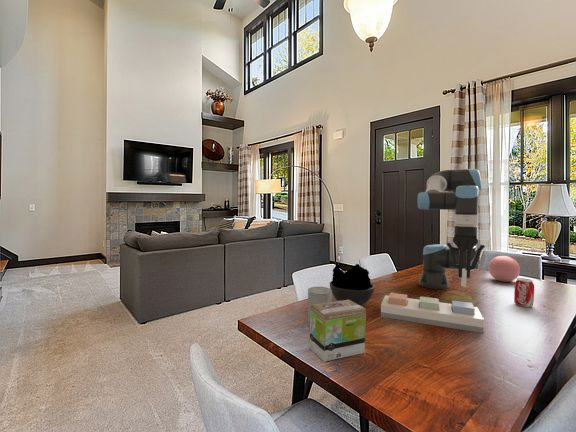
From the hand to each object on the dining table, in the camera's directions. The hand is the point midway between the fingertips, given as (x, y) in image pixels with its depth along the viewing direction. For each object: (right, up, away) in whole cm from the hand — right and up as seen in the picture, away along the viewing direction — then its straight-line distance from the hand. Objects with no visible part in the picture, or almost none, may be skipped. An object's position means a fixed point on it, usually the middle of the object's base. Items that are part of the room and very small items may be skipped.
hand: (463, 285), depth 117 cm
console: (-11, -15, +6) cm, 19 cm away
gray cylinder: (-56, -15, +4) cm, 58 cm away
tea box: (-53, -16, -21) cm, 59 cm away
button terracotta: (-22, -10, +11) cm, 26 cm away
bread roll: (+8, -14, +17) cm, 24 cm away
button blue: (0, -11, +1) cm, 11 cm away
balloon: (+62, -12, +64) cm, 90 cm away
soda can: (+40, -14, +21) cm, 48 cm away
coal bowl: (-39, -14, +20) cm, 46 cm away
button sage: (-11, -10, +6) cm, 16 cm away
